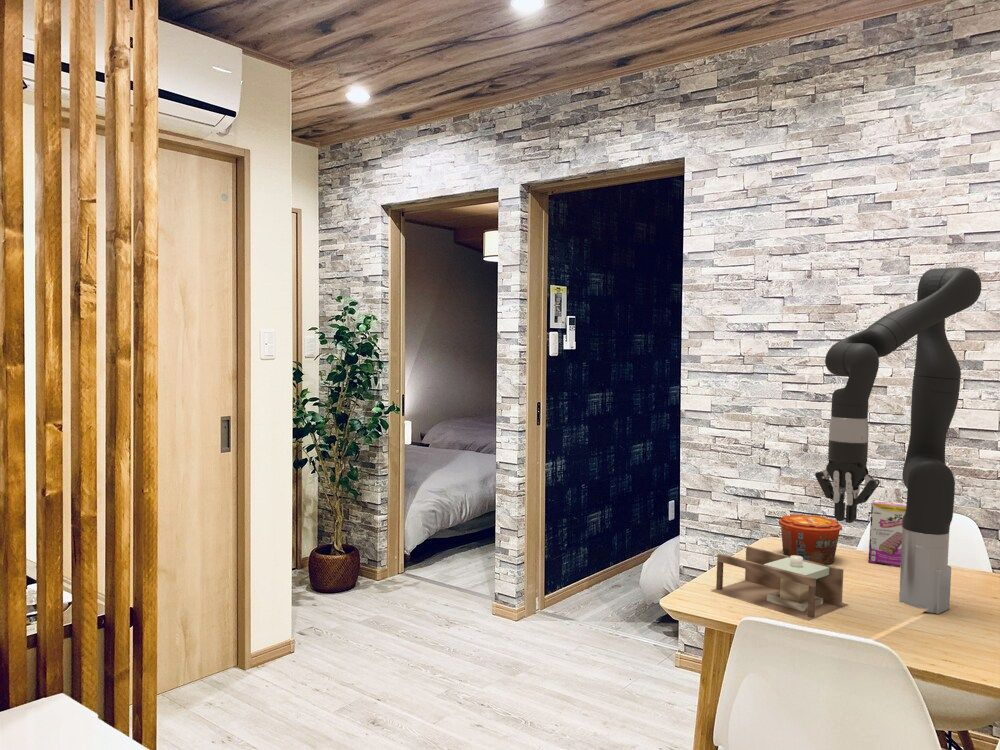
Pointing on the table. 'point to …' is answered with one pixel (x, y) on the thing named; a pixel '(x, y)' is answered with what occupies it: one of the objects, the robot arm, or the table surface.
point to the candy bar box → (886, 532)
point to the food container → (810, 537)
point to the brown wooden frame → (766, 585)
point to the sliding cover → (800, 567)
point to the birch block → (793, 591)
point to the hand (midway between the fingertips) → (844, 521)
